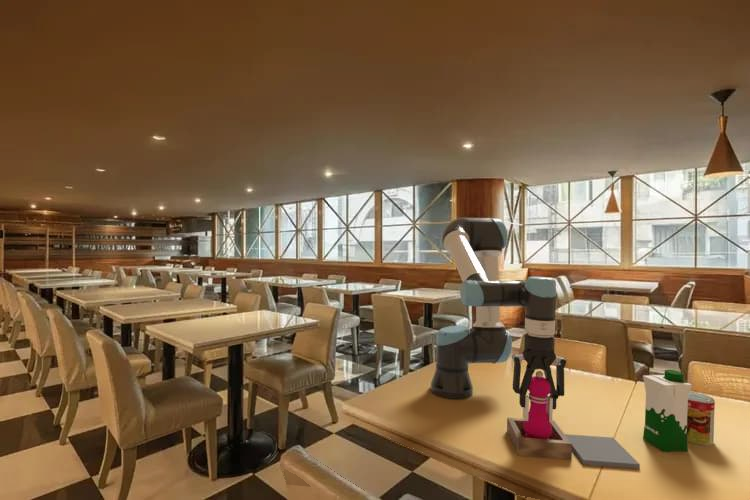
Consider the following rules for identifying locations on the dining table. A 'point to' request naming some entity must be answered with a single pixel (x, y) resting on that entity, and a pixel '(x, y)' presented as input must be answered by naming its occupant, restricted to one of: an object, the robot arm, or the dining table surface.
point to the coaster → (601, 452)
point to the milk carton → (666, 411)
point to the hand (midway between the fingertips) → (537, 419)
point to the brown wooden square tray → (539, 441)
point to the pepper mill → (538, 408)
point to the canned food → (700, 419)
